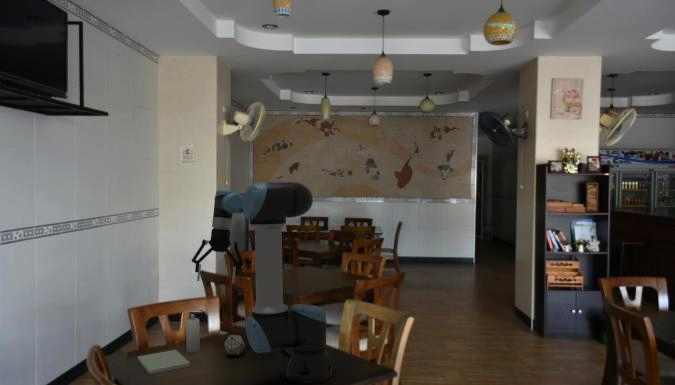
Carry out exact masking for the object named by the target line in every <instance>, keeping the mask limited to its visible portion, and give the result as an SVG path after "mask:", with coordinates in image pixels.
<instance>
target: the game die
mask: <svg viewBox="0 0 675 385" xmlns="http://www.w3.org/2000/svg"><path fill="white" fill-rule="evenodd" d="M242 336H243V333H241V334H240V335H239V334H238V335H237V334H231V333H228V337H227V338H226V340H225V341H224V343H221V345H223V347H224V348H225V351H226V357H228V356H231V355H232V356H233V355H234V356H238V357H239V358H240V357H241V353H242V351H243V350H244V348H245V347H248V346H247V344H245V342H244V339H243V337H242Z"/></svg>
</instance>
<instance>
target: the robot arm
mask: <svg viewBox="0 0 675 385" xmlns="http://www.w3.org/2000/svg"><path fill="white" fill-rule="evenodd" d="M313 202H314V197H313V194H312V191H311V190H310V189H309V188H308V186H306V185H304V184H302V183H299V182H296V181H295V182H292V181H288V182H287V181H286V182H282V181H281V182H279V181H278V182H275V181H274V182H273V181H272V182H270V181H269V182H267V181H266V182H265V181H263V182H261V181H260V182H254V183H251V184H249V186H248V187H247V188H246V190H245V193H238V192H237V193H236V192H234V191H232V190H226V189H217V190H216V191H215V196H214V204H213V205H214V206H213V216H212V224H211V227H212V229H211V233H210V240H208V239H207V240H206V239H202V241H201V244H200V246H199V248H198V249H197V251H196V252H195V254H194V255H193V256H192V259H191V262H192V263H194V264H195V269H194V271H195V273H197V275H196V276H197V278H196V282H200V279H201V277H200V276H201V271H202V270H201V269H202V264H200V263H201V262H203V260H204V259H206V258H207V257H208V255H210V254H211V253H212V252H216V253H218V252H219V253H225V254H227V256H228V258H229V259H230V260H231V262H232V263H233V264H234V266H233V267H232V278H231V283H232V284H235V281H236V276H238V275H239V268H240V267H241V266H244V265H245V264H244V261H243V258H242V256H241V253H240V250H239V248H238V242H237V241H234V242H231V233H232V232H231V230H230V229H232V221H233V214H240V213H241V214H243V217H244V218H245V219H246V220H248V221H249V226H250V227H251V228H253V230H254V257H255V258H254V261H255V262H254V263H255V265H254V266H255V305H253V307H252V308H251V315H250V316H248V317H246V319H245V327H244V328H245V334H246V337H247V341H248V344H249V346H250V347H251V349H252V350H253V351H254V352H255V353H259V354H263V353H271V352H275V351H281V350H285V349H287V348H292V354H291V355H290V358H289V361H288V365H287V367H286V377H287V379H288V380H290V381H292V382H295V383H302V384H313V383H319V382H320V383H321V382H324V381H326V380H328V379H330V378H332V376H333V366H332V364H331V361H330V358H329V355H328V352H327V323H328V322H327V313H326V311H325V309H324V308H323V307H321V306H318V305H313V304H305V303H304V304H302V303H301V304H300V303H299V304H292V305H291V306H290V310H289V307H288V306H287V305H286V304H285V303H284V294H283V292H284V291H283V290H284V289H283V288H284V284H283V280H284V279H283V245H282V244H283V242H282V236H283V234H282V229H283V228H284V226H286V225H287V218H297V217H300V216H304V215H305V214H306V213H307V212H309V211H310V210H311V208H312V206H313ZM208 245H209V246H210V247H209V249H208V250H206V252H205V253H204V254H202V256H200V254H201V253H202V251H203V249H204V248H205V246H208ZM230 246H231V247H232V248H233V250H234V253H235V255H236V258H235V257H234V256H233V254H232V253H231V251H230V250H229V247H230ZM199 256H200V257H199ZM198 257H199V258H198ZM197 258H198V259H197ZM236 259H237V260H238V261H237V260H236Z"/></svg>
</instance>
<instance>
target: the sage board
mask: <svg viewBox="0 0 675 385" xmlns="http://www.w3.org/2000/svg"><path fill="white" fill-rule="evenodd" d="M137 361H138V363H139V364H140V365H141V366H142V367H143V368H144V370H145V371H146V372H147V374H148V375H152V374H158V373H162V372H167V371H173V370H177V369H183V368H187V367H188V368H189V367H190V366H191V362H190V361H189V360H188V359H187V358H185V356H183V355H182V354H181V353H180V352H179V351H178V350H176V349H172V350H167V351H166V350H165V351H163V352H162V351H161V352H156V353H155V352H154V353H149V354H145V355H138V356H137Z"/></svg>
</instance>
